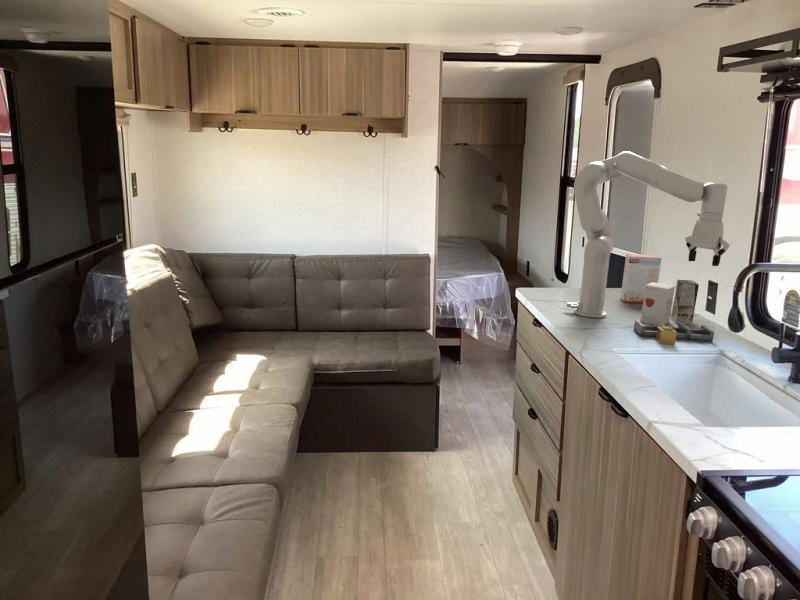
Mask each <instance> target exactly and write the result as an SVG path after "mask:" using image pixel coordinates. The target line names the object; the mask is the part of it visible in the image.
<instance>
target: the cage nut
mask: <svg viewBox="0 0 800 600" xmlns="http://www.w3.org/2000/svg"><path fill="white" fill-rule="evenodd" d="M676 333H677V332H676V331H675V330H674V329H673V328H671V326H666V325H665V326H661V327H657V332H656V338H654V340H655V342H657V343H658V345H666V346H675V344H676V340H675V339H676Z"/></svg>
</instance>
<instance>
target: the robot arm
mask: <svg viewBox="0 0 800 600" xmlns="http://www.w3.org/2000/svg"><path fill="white" fill-rule="evenodd" d="M625 176H626V177H628V178H630V179H632V180H634V181H636V182H639V183H641V184H643V185H646V186H648V187H650V188H653V189H655V190H659V191H662V192H664V193H666V194H668V195H671V196H673V197H675V198H677V199H680V200H683V201H684V202H688V203H695V202H699V201H700V202H701V208H700V211H699V212H697V217H698V219H696V221H695V224H694V227H693V229H692V233H691V235H689V236H687V237H685V238H684V240H685V243H686V244H685V245H686V246H687V249H688V251H689V253H688V259H687V261H688V262H695V261H696V257H697V249H698V248H701V249H706V250H712V251H713V252H714V254H713V256H712V262H711V266H712V267H718V266H719V265H720V263H721V258H722V257H721V256H723V254H725V253H726V252H727V251H728V250H729V247H730V246H731V245H730V244H729V242H727V241H726V240H724V222H723V215H724V210H725V203H726V199H727V192H728V185H727V184H725V183H721V182H702V181H697V180H693V179H690V178H688V177H686V176H683V175H681V174H679V173H677V172H674V171H672V170H671V169H668V168H667V167H666V166H664V165H662V164H660V163H657V162H655V161H652V160H650V159H648V158H646V157H643V156H641V155H638V154H636V153H634V152H631V151H622V152H620V153H619V154H617V155H615V156H612V157H609V158H607V159H603V160H599V161H593V162H590V163H588V164H586V165H585V166H584V167H583V168H581V170H580V171H579V172H578V173H577V175H576V177H575V180H574V183H573V193H574V194H573V195H574V199H575V204H576V208H577V213H578V217H579V223H580V226H581V228H582V230H583V231H584V232H585V234H586V238H587V242H586V244H585V246H584V251H583V252H584V253H583V254H584V255H583V267H582V277H581V284H580V293H579V299H578V300H577V301H576V302H566V308H570V309H574V310H573V313H574V314H575V315H578V316H581V317H585V318H593V319H601V318H606V317H607V312H606V311H604V306H605V298H606V290H607V285H608V284H607V282H608V275H609V265H610V258H611V257H610V256H611V254H612V252H613V249H614V240H613V235H612V231H611V227H610V223H609V218H608V216H607V213H606V212H605V211H604V210H603V209H602V206H601V204H600V199H599V194H598V191H597V187H598V185H600V184H604V183H606V182H609V181H612V180H616V179H618V178H622V177H625Z"/></svg>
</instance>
